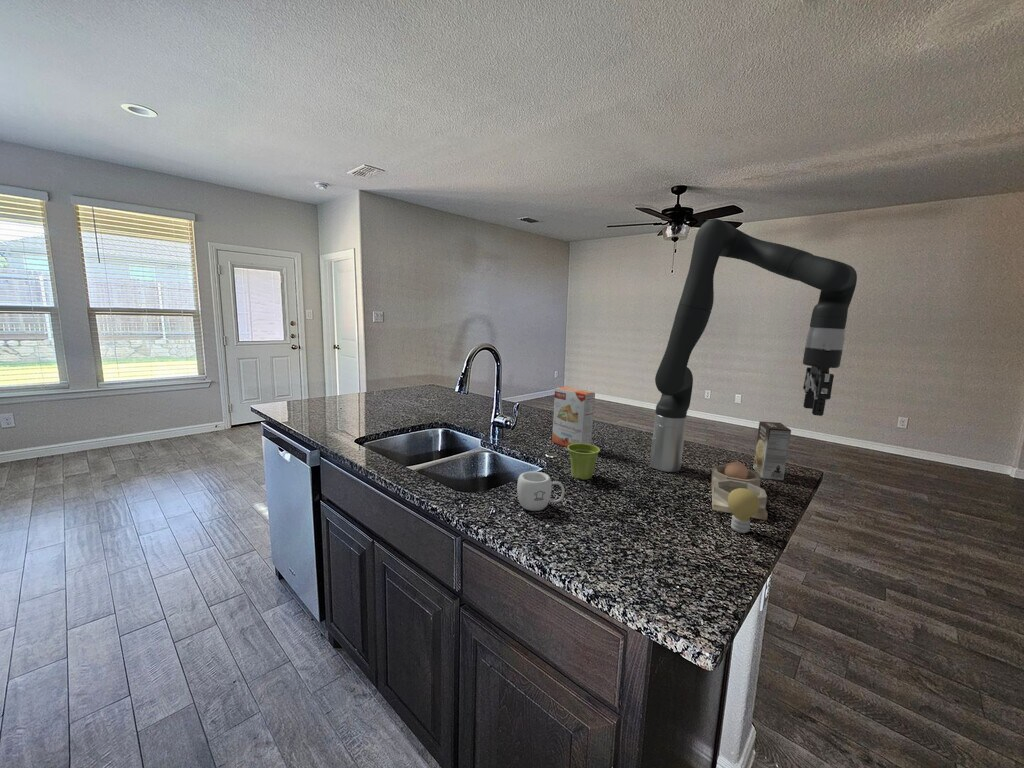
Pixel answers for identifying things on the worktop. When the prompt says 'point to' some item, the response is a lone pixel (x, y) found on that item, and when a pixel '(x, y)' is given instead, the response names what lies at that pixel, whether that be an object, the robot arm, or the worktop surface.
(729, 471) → the terracotta ball
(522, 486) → the mug
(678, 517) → the worktop surface
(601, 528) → the worktop surface
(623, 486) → the worktop surface
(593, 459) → the plant pot
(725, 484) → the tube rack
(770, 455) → the coffee box
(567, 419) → the cracker box
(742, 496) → the light bulb
